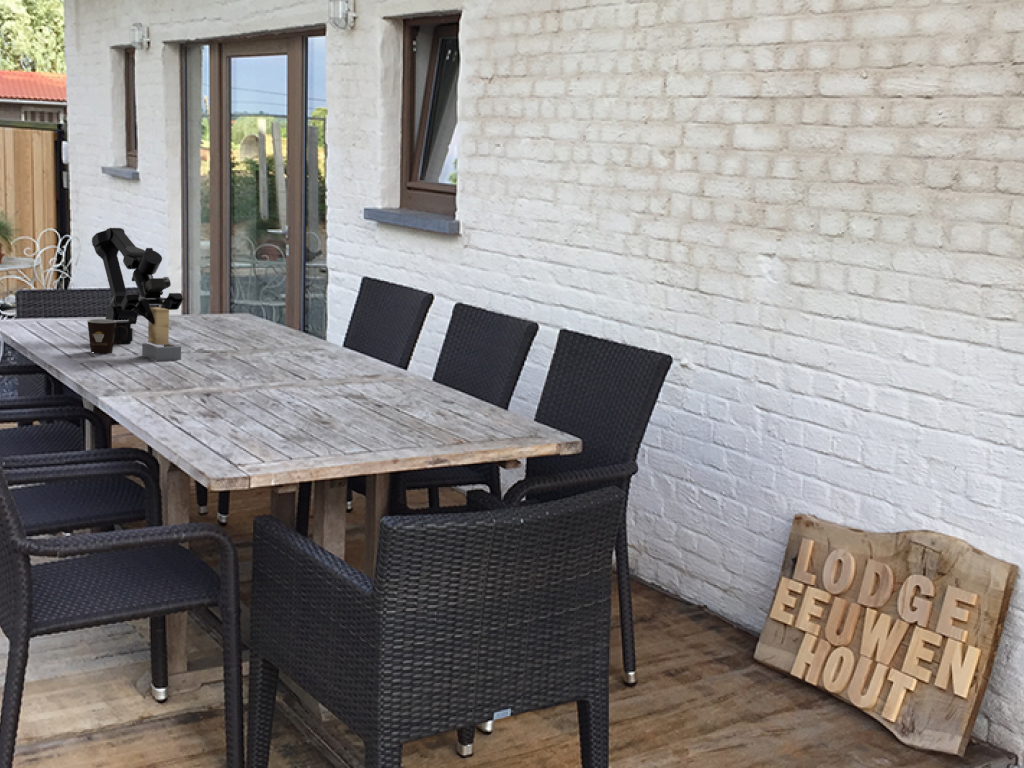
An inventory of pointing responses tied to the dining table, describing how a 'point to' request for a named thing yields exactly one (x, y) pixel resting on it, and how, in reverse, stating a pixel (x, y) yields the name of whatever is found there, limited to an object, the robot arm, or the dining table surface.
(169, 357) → the end cap
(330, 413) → the dining table surface
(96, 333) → the coffee mug
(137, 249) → the robot arm
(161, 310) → the block
